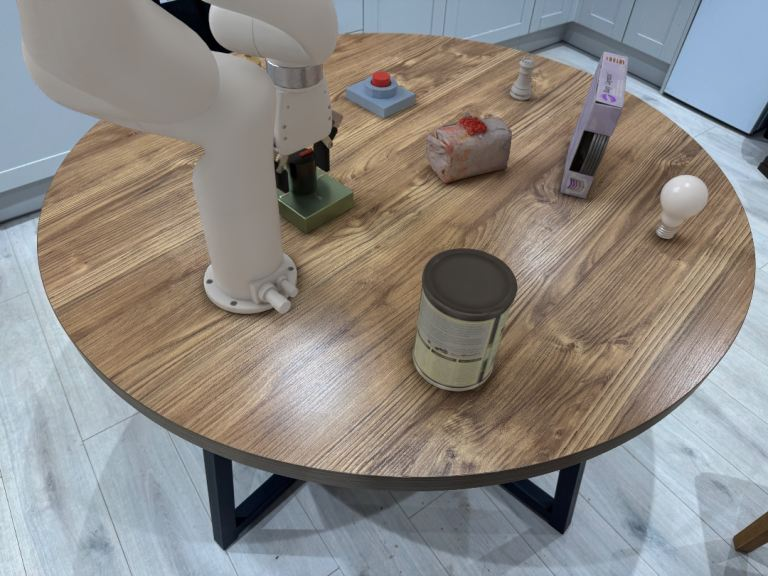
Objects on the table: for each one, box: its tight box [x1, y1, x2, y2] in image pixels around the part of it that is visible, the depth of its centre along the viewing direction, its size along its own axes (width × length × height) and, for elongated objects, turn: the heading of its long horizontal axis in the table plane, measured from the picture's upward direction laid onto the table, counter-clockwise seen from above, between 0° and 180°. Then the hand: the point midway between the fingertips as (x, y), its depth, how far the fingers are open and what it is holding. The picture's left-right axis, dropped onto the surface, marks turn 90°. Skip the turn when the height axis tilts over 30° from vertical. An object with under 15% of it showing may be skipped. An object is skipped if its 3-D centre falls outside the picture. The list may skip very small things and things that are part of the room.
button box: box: [345, 75, 417, 119], centre depth 115 cm, size 11×9×4 cm
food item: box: [425, 111, 513, 184], centre depth 97 cm, size 14×8×10 cm, turn 114°
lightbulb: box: [655, 174, 709, 240], centre depth 86 cm, size 6×6×11 cm
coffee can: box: [412, 247, 519, 392], centre depth 66 cm, size 10×10×14 cm
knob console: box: [277, 165, 355, 235], centre depth 91 cm, size 13×10×3 cm
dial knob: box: [286, 147, 317, 194], centre depth 88 cm, size 5×5×6 cm
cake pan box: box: [560, 51, 629, 200], centre depth 96 cm, size 19×5×18 cm, turn 161°
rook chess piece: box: [509, 56, 536, 102], centre depth 118 cm, size 4×4×8 cm
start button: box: [371, 71, 391, 88], centre depth 113 cm, size 4×4×2 cm
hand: (302, 177), depth 89 cm, fingers open, 7 cm apart
